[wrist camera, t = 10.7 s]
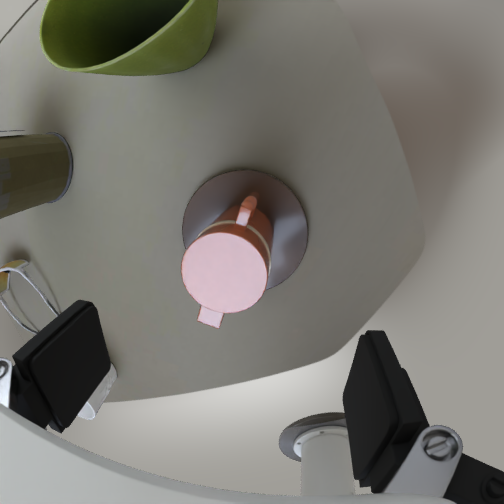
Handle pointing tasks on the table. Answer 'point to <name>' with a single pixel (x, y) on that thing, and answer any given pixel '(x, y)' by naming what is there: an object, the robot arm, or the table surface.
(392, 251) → the table surface
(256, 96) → the table surface
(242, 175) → the turntable
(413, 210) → the table surface
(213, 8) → the flower pot
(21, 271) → the sunglasses
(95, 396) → the white cup
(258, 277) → the jug
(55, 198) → the canister
